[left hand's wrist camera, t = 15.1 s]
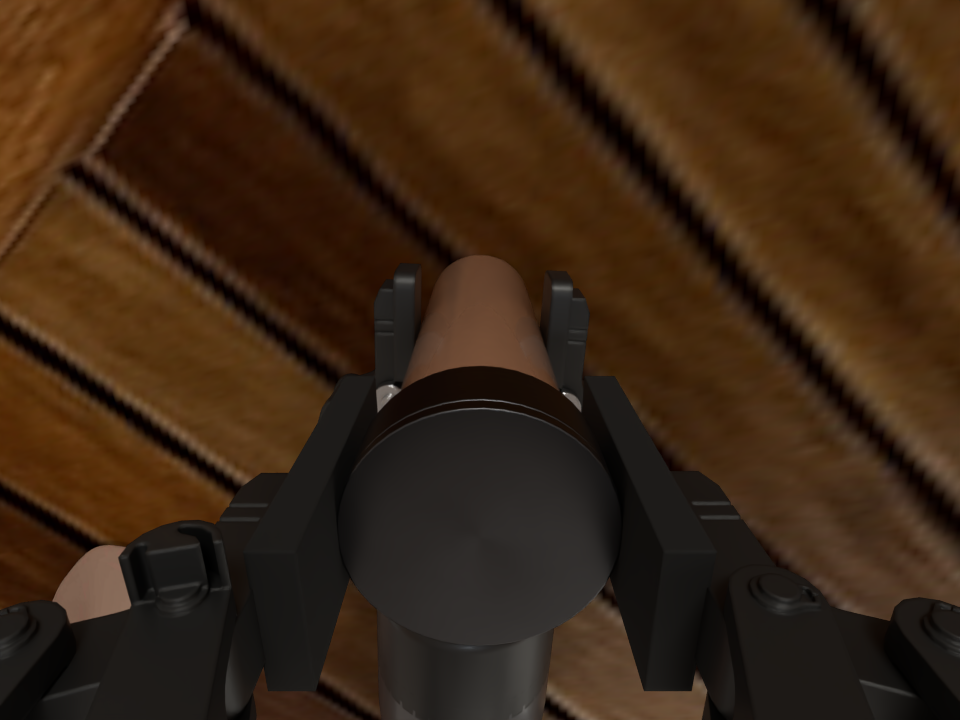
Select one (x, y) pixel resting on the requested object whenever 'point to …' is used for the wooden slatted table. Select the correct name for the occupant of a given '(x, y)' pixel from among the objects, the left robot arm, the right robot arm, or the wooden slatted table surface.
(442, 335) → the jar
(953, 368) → the wooden slatted table surface
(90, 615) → the anatomical model
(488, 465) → the lid
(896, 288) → the wooden slatted table surface
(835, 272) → the wooden slatted table surface
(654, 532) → the left robot arm
